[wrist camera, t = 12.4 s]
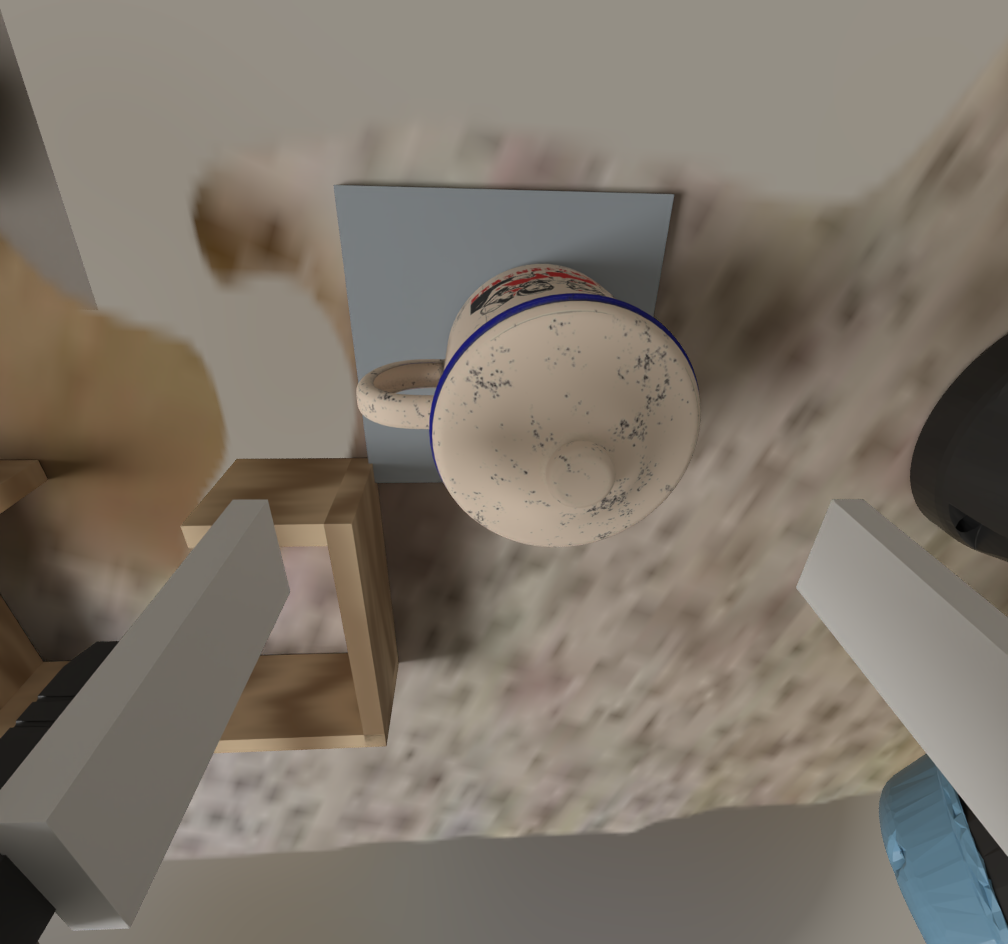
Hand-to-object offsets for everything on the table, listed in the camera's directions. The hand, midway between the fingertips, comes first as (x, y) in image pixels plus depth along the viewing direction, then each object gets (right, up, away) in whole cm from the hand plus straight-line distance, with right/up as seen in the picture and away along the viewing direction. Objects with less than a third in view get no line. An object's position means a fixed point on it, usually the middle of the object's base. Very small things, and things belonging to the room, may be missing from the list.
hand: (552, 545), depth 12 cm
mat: (-1, +8, +13) cm, 15 cm away
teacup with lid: (-1, +7, +12) cm, 14 cm away
